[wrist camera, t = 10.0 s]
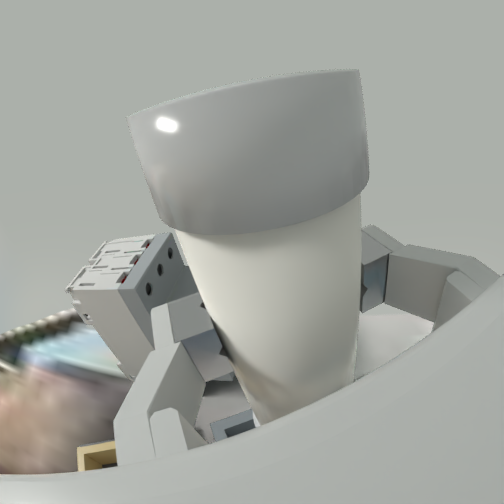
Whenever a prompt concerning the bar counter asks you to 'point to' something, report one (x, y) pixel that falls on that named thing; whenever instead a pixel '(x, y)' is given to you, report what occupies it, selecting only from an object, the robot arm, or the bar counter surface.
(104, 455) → the block
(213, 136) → the cylinder
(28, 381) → the bar counter surface
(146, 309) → the circuit breaker
